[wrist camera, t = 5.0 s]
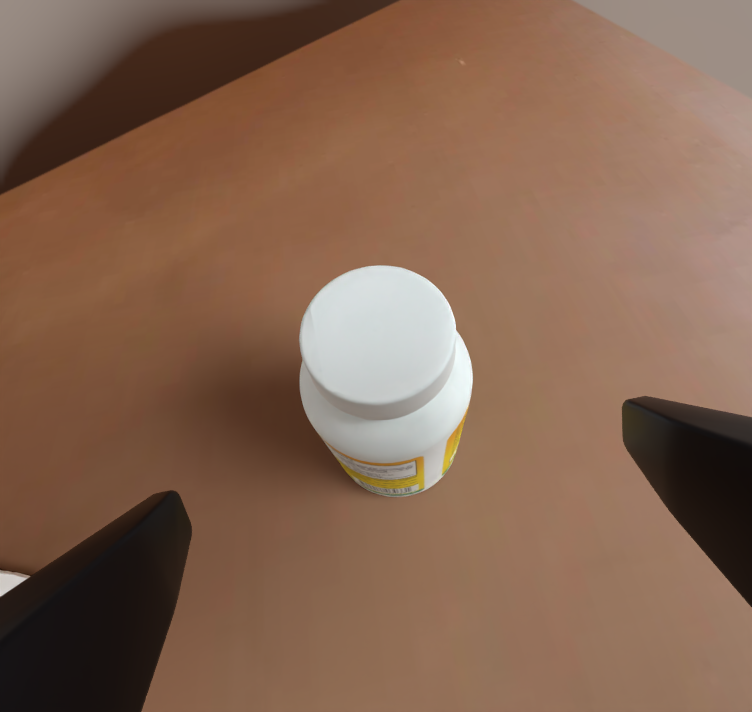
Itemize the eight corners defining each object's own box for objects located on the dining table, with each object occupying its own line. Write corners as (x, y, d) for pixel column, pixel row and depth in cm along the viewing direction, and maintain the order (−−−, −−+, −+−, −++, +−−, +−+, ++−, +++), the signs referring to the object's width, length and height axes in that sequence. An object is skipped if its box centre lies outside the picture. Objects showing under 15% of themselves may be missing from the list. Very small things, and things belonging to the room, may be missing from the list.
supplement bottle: (378, 524, 19) (334, 481, 10) (315, 419, 21) (235, 309, 12) (485, 451, 19) (530, 353, 11) (413, 358, 22) (404, 213, 13)
